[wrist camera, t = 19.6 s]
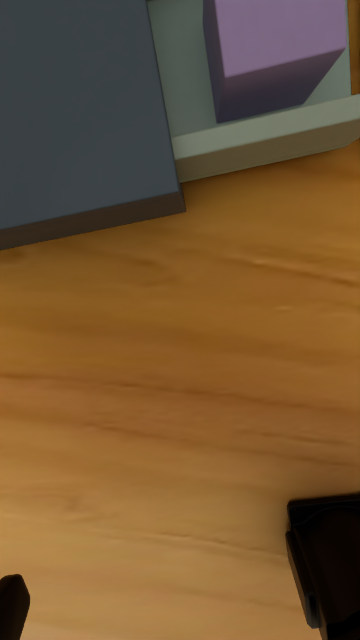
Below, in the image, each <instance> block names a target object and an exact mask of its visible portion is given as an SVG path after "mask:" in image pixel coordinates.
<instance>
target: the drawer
mask: <svg viewBox="0 0 360 640" xmlns="http://www.w3.org/2000/svg"><path fill="white" fill-rule="evenodd" d="M147 5H148V10H149V16H150V22H151V27H152V33H153V39H154V44H155V50H156V56H157V61H158V67H159V73H160V78H161V84H162V90H163V95H164V101H165V107H166V112H167V118H168V124H169V129H170V135H171V141H172V147H173V152H174V158H175V164H176V169H177V174H178V178H179V182H180V183H182V182H187V181H192V180H196V179H201V178H205V177H210V176H215V175H219V174H224V173H229V172H233V171H238V170H242V169H247V168H252V167H256V166H261V165H265V164H270V163H275V162H279V161H284V160H288V159H293V158H298V157H302V156H307V155H312V154H316V153H321V152H325V151H330V150H335V149H339V148H344V147H346V146H348V145H349V144H351V143H352V142H354V141H355V140H357V139H358V138H360V94H356V95H351V76H350V53H349V31H348V9H347V0H345V10H346V32H347V47H346V49H345V50H344V52H343V53H342V54H341V56H340V57H339V58H338V60H337V61H336V62H335V63H334V65H333V66H332V67H331V69H330V70H329V71H328V73H327V74H326V75H325V77H324V78H323V79H322V80H321V82H320V83H319V84H318V86H317V87H316V88H315V90H314V91H313V92H312V94H311V95H310V96H309V97H308V99H307V100H306V101H305V103H304V104H300V105H296V106H292V107H287V108H283V109H279V110H274V111H270V112H266V113H261V114H257V115H253V116H248V117H244V118H240V119H236V120H231V121H227V122H223V123H217V122H216V116H215V108H214V101H213V94H212V87H211V80H210V73H209V66H208V59H207V52H206V45H205V38H204V30H203V0H147Z"/></svg>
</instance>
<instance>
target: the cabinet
mask: <svg viewBox="0 0 360 640" xmlns="http://www.w3.org/2000/svg"><path fill="white" fill-rule="evenodd" d="M183 212H186V208H185V202H184V196H183V191H182V185H181V183H180V182H179V178H178V174H177V169H176V164H175V158H174V152H173V147H172V141H171V135H170V129H169V124H168V118H167V112H166V107H165V101H164V95H163V90H162V84H161V78H160V73H159V67H158V61H157V56H156V50H155V44H154V39H153V33H152V27H151V22H150V16H149V10H148V5H147V0H0V250H4V249H9V248H14V247H19V246H23V245H28V244H33V243H38V242H43V241H48V240H52V239H57V238H62V237H67V236H72V235H77V234H81V233H86V232H91V231H96V230H101V229H106V228H111V227H115V226H120V225H125V224H130V223H135V222H140V221H144V220H149V219H154V218H159V217H164V216H169V215H173V214H178V213H183Z"/></svg>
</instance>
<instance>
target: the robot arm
mask: <svg viewBox="0 0 360 640" xmlns="http://www.w3.org/2000/svg"><path fill="white" fill-rule="evenodd" d="M294 509H296V510H294ZM287 511H288V519H289V527H290V530H288V531H287V532H286V534H285V537H286V544H287V552H288V559H289V563H290V566H291V570H292V573H293V577H294V580H295V583H296V587H297V590H298V594H299V597H300V600H301V604H302V607H303V611H304V614H305V618H306V621H307V624H308V625H309V626H310V627H311V628H312V629H315V628H319V631H320V634H321V637H322V640H360V494H357V495H348V496H339V497H329V498H320V499H311V500H301V501H293V502H290V503H289V504H288V505H287ZM29 606H30V594H29V592H28V589H27V587H26V585H25V582H24V580H23V577H22V576H21V575H20V574H14V575H7V576H4V577H3V578H2V579H1V580H0V640H20V637H21V633H22V630H23V627H24V623H25V620H26V617H27V613H28V610H29Z"/></svg>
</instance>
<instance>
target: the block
mask: <svg viewBox="0 0 360 640" xmlns="http://www.w3.org/2000/svg"><path fill="white" fill-rule="evenodd" d="M203 30H204V38H205V45H206V52H207V59H208V66H209V73H210V80H211V87H212V94H213V101H214V108H215V116H216V122H217V123H223V122H227V121H231V120H236V119H240V118H244V117H248V116H253V115H257V114H261V113H266V112H270V111H274V110H279V109H283V108H287V107H292V106H296V105H300V104H304V103H305V101H306V100H307V99H308V97H309V96H310V95H311V94H312V92H313V91H314V90H315V88H316V87H317V86H318V84H319V83H320V82H321V80H322V79H323V78H324V77H325V75H326V74H327V73H328V71H329V70H330V69H331V67H332V66H333V65H334V63H335V62H336V61H337V60H338V58H339V57H340V56H341V54H342V53H343V52H344V50H345V49H346V47H347V32H346V10H345V0H203Z"/></svg>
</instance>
